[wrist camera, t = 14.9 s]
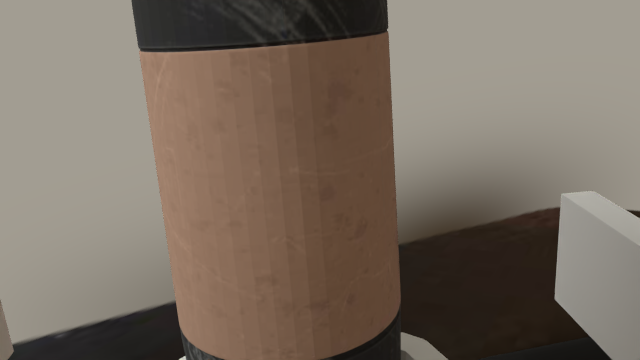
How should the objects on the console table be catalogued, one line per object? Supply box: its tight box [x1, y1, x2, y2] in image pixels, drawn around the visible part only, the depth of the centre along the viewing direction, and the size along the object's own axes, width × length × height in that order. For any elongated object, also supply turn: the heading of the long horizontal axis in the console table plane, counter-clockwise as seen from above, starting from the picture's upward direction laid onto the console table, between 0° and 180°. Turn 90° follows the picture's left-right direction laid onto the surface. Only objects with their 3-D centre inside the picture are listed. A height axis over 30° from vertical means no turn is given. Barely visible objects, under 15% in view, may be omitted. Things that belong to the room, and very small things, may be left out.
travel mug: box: [132, 0, 401, 360], centre depth 20 cm, size 8×8×20 cm
